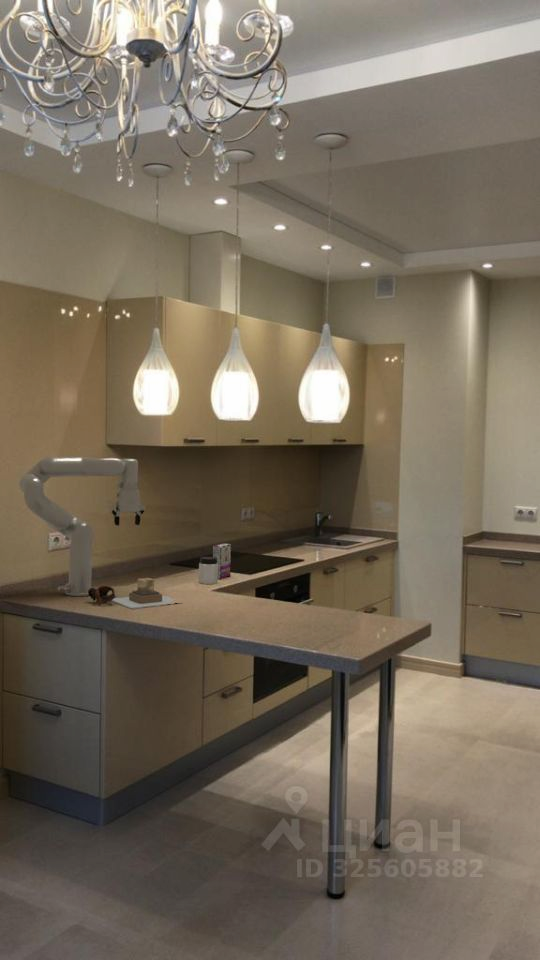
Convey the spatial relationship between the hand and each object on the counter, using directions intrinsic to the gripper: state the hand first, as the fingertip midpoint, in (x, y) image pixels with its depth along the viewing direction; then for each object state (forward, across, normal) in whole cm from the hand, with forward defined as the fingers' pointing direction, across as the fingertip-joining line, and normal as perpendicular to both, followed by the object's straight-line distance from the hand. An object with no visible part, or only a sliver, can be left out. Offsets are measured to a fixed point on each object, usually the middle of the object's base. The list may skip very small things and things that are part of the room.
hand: (127, 525), depth 373 cm
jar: (+29, +45, +4) cm, 54 cm away
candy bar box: (+29, +58, +14) cm, 67 cm away
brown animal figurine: (+30, -19, -20) cm, 41 cm away
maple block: (+26, -2, -25) cm, 36 cm away
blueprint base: (+30, -2, -25) cm, 39 cm away
